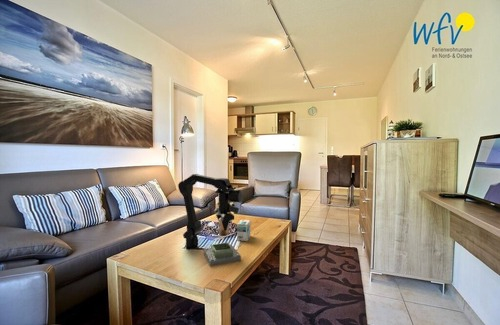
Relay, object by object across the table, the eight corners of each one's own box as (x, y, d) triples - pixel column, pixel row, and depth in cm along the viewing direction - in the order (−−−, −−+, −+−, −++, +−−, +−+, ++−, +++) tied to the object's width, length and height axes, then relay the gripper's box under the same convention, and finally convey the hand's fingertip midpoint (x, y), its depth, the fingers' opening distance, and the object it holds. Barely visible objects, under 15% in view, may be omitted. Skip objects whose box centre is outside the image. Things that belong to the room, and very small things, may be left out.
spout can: (220, 236, 128) (220, 219, 128) (217, 233, 133) (217, 216, 133) (233, 234, 131) (233, 217, 131) (230, 231, 136) (229, 215, 136)
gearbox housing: (210, 266, 115) (210, 255, 115) (203, 253, 130) (203, 243, 130) (240, 260, 121) (240, 250, 121) (231, 248, 136) (231, 239, 136)
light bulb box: (247, 241, 148) (247, 224, 148) (236, 240, 150) (236, 223, 149) (250, 235, 159) (250, 219, 158) (240, 235, 160) (240, 219, 160)
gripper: (243, 203, 126) (243, 232, 126) (231, 197, 143) (231, 222, 143) (223, 205, 121) (223, 235, 122) (213, 198, 138) (214, 225, 139)
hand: (223, 228), depth 131 cm, fingers closed on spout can, 5 cm apart
